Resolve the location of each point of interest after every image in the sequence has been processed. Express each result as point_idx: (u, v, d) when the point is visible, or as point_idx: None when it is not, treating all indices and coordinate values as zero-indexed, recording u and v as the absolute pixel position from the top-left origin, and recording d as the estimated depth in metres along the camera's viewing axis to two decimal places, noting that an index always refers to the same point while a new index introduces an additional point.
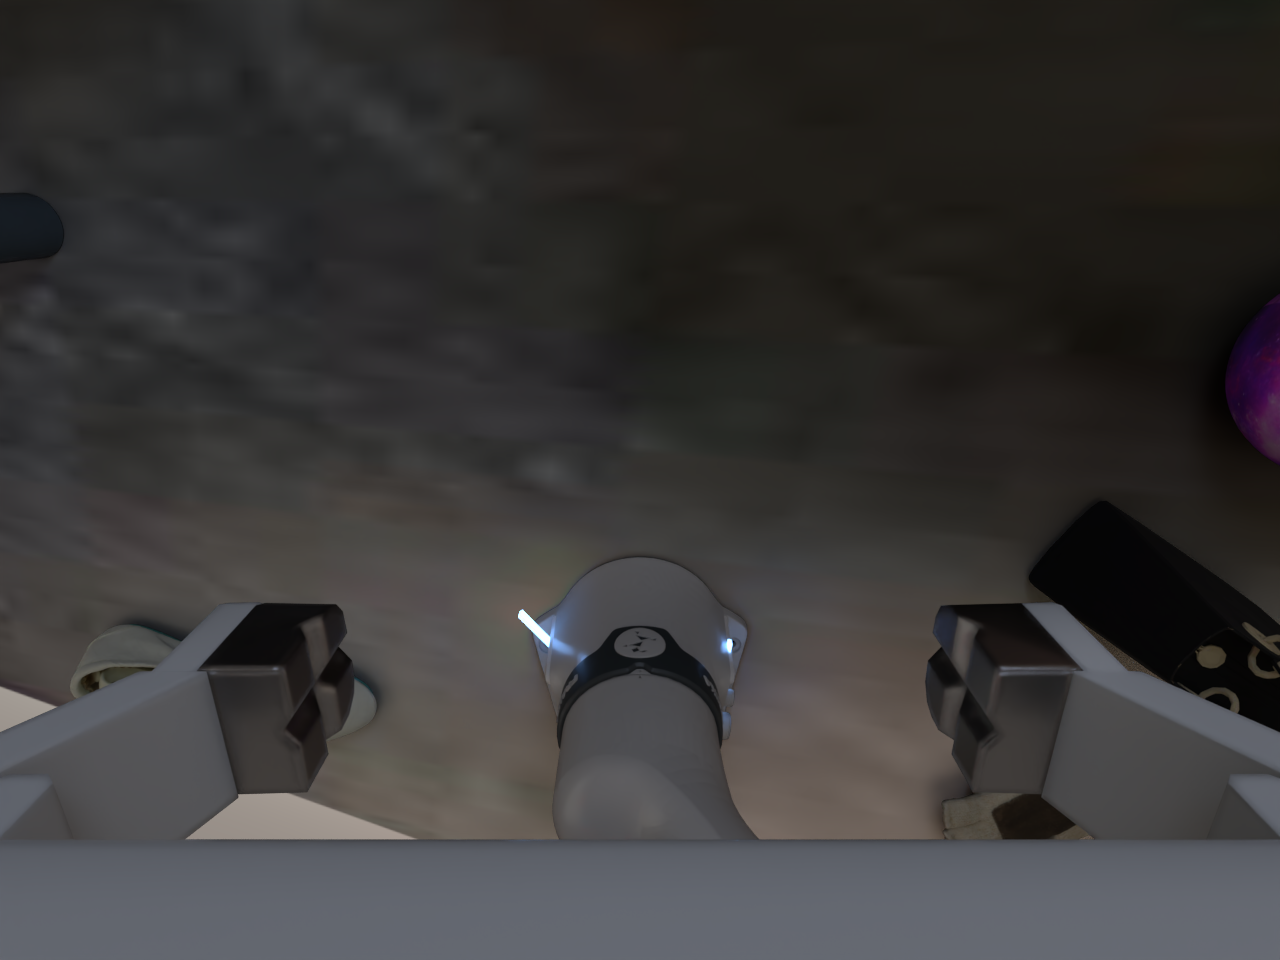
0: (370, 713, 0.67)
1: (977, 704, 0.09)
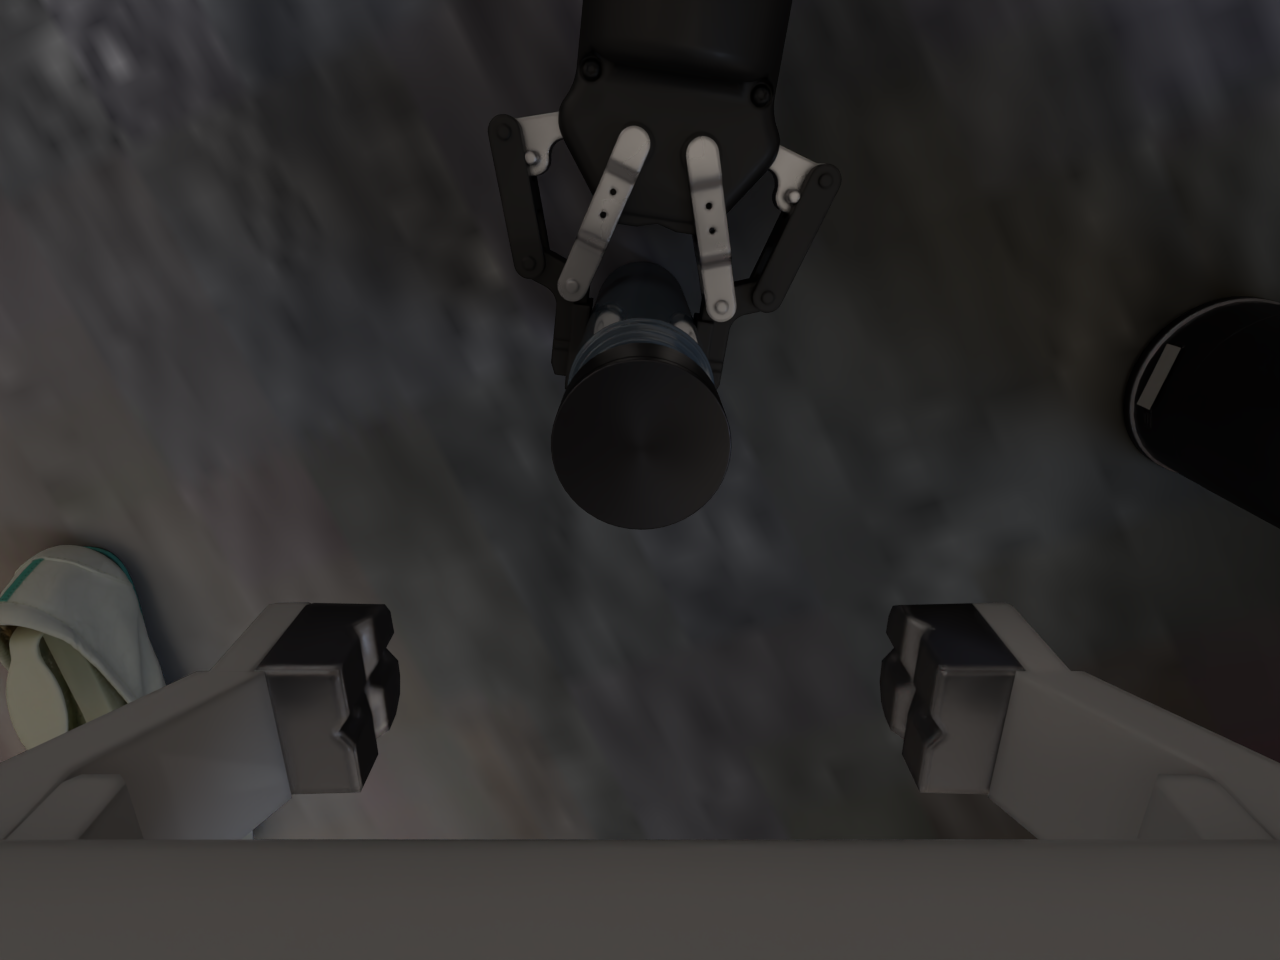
0: None
1: (925, 704, 0.09)
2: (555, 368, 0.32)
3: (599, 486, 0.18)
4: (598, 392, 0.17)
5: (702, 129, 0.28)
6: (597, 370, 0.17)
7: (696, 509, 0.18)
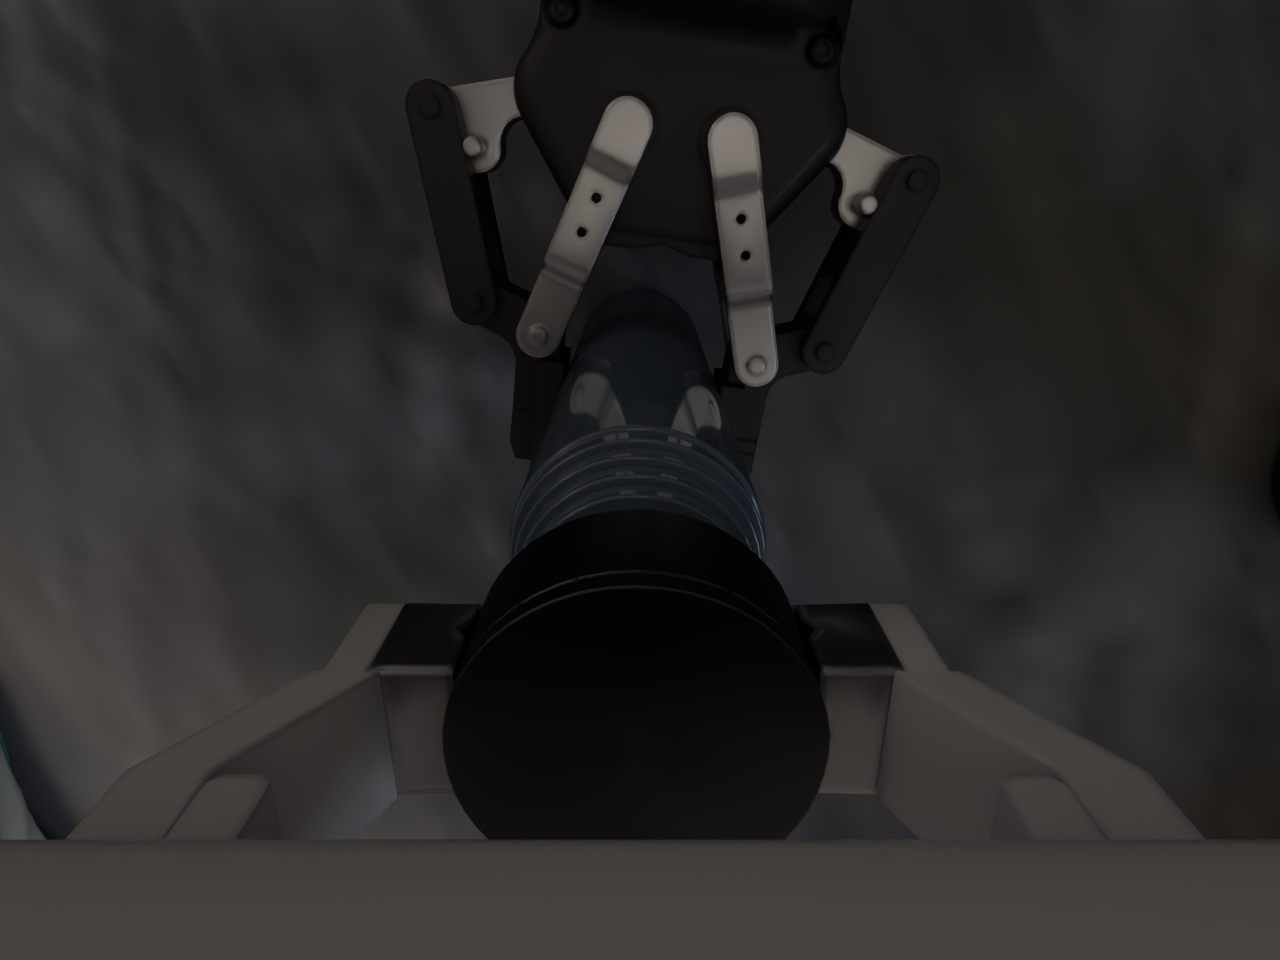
0: None
1: None
2: (516, 449, 0.22)
3: (548, 822, 0.09)
4: (540, 651, 0.08)
5: (732, 102, 0.18)
6: (537, 607, 0.08)
7: None
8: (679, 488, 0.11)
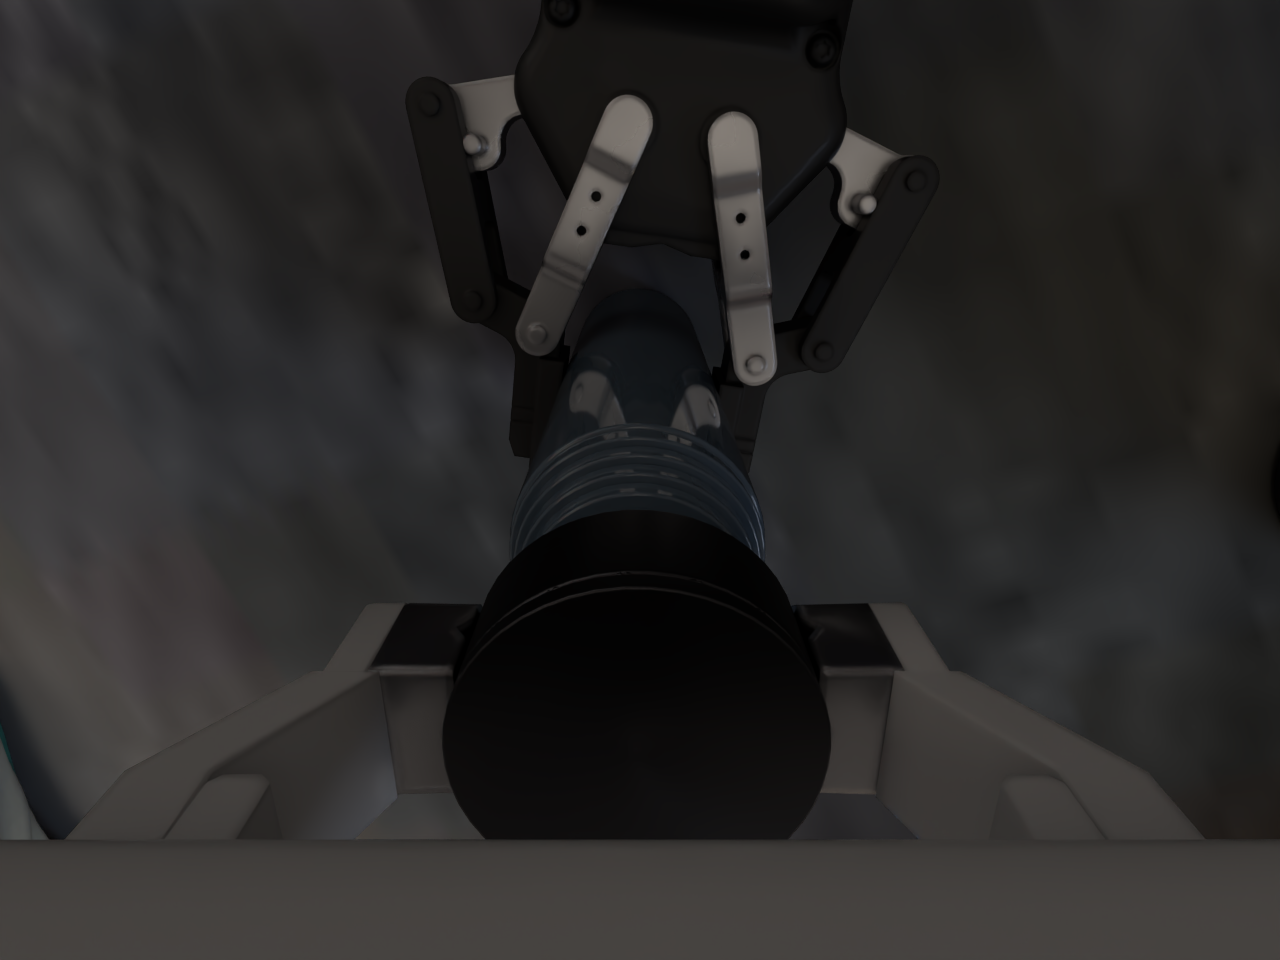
0: None
1: None
2: (515, 447, 0.22)
3: (726, 823, 0.09)
4: (523, 831, 0.09)
5: (732, 102, 0.18)
6: (480, 832, 0.09)
7: (782, 644, 0.08)
8: (679, 486, 0.11)
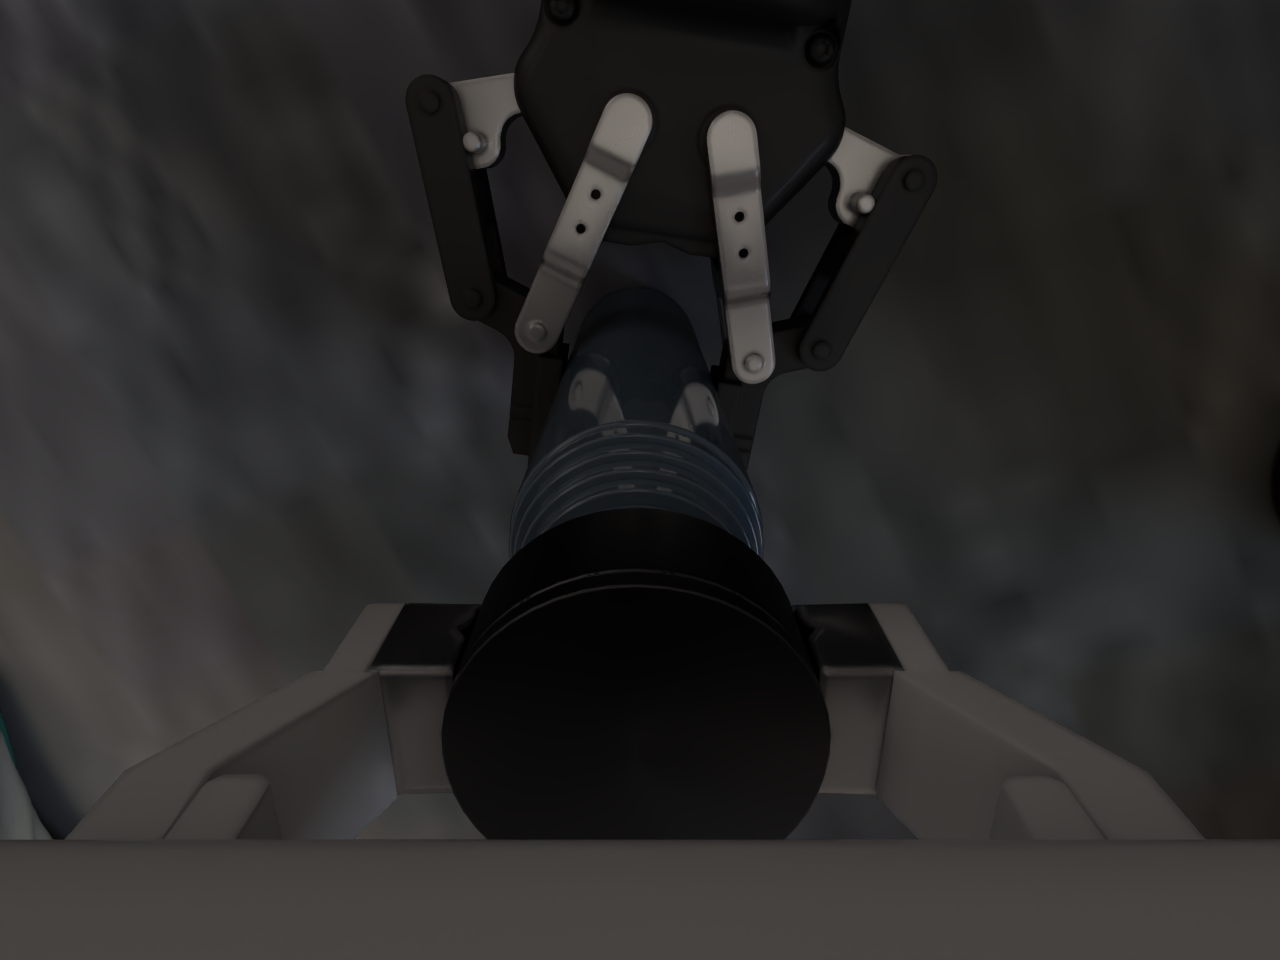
0: None
1: None
2: (514, 445, 0.22)
3: (720, 673, 0.08)
4: None
5: (731, 101, 0.18)
6: None
7: (486, 645, 0.08)
8: (678, 482, 0.11)
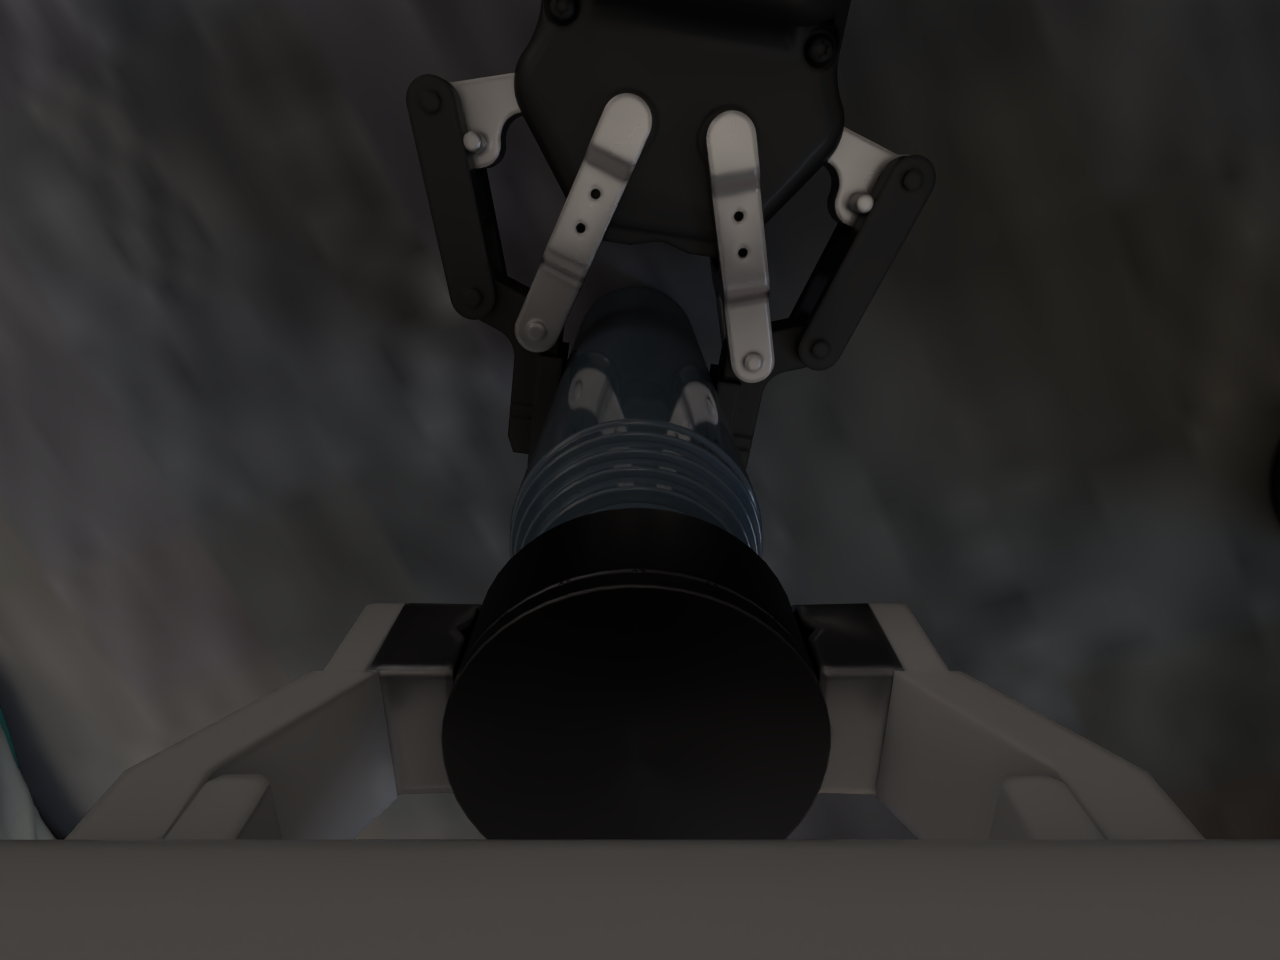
0: None
1: None
2: (514, 444, 0.22)
3: (529, 694, 0.08)
4: (749, 664, 0.08)
5: (730, 101, 0.18)
6: (797, 653, 0.08)
7: None
8: (678, 480, 0.11)
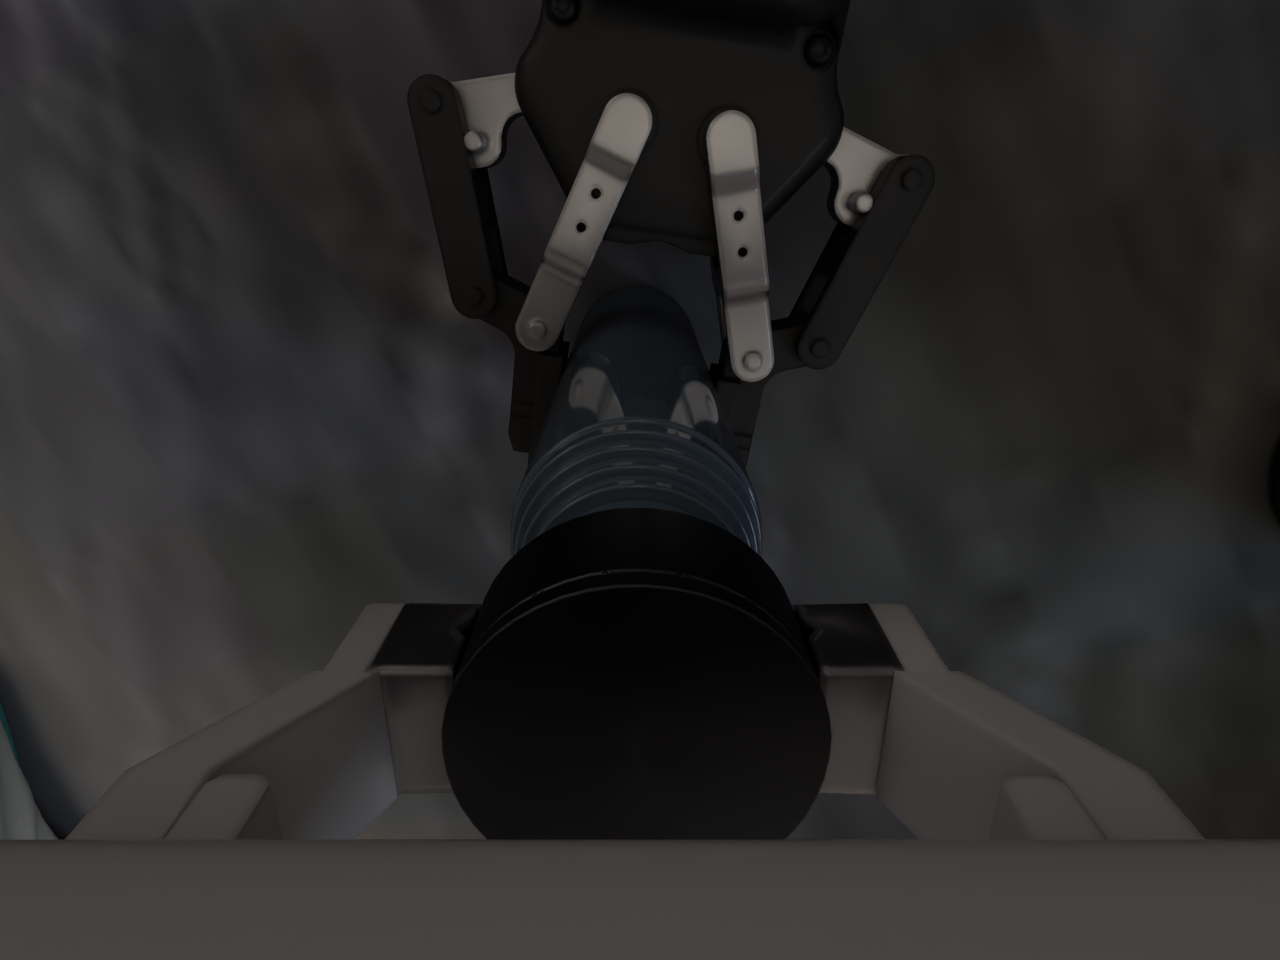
0: None
1: None
2: (514, 442, 0.22)
3: (570, 836, 0.09)
4: (514, 672, 0.08)
5: (730, 101, 0.19)
6: (499, 629, 0.08)
7: (781, 838, 0.09)
8: (678, 478, 0.11)
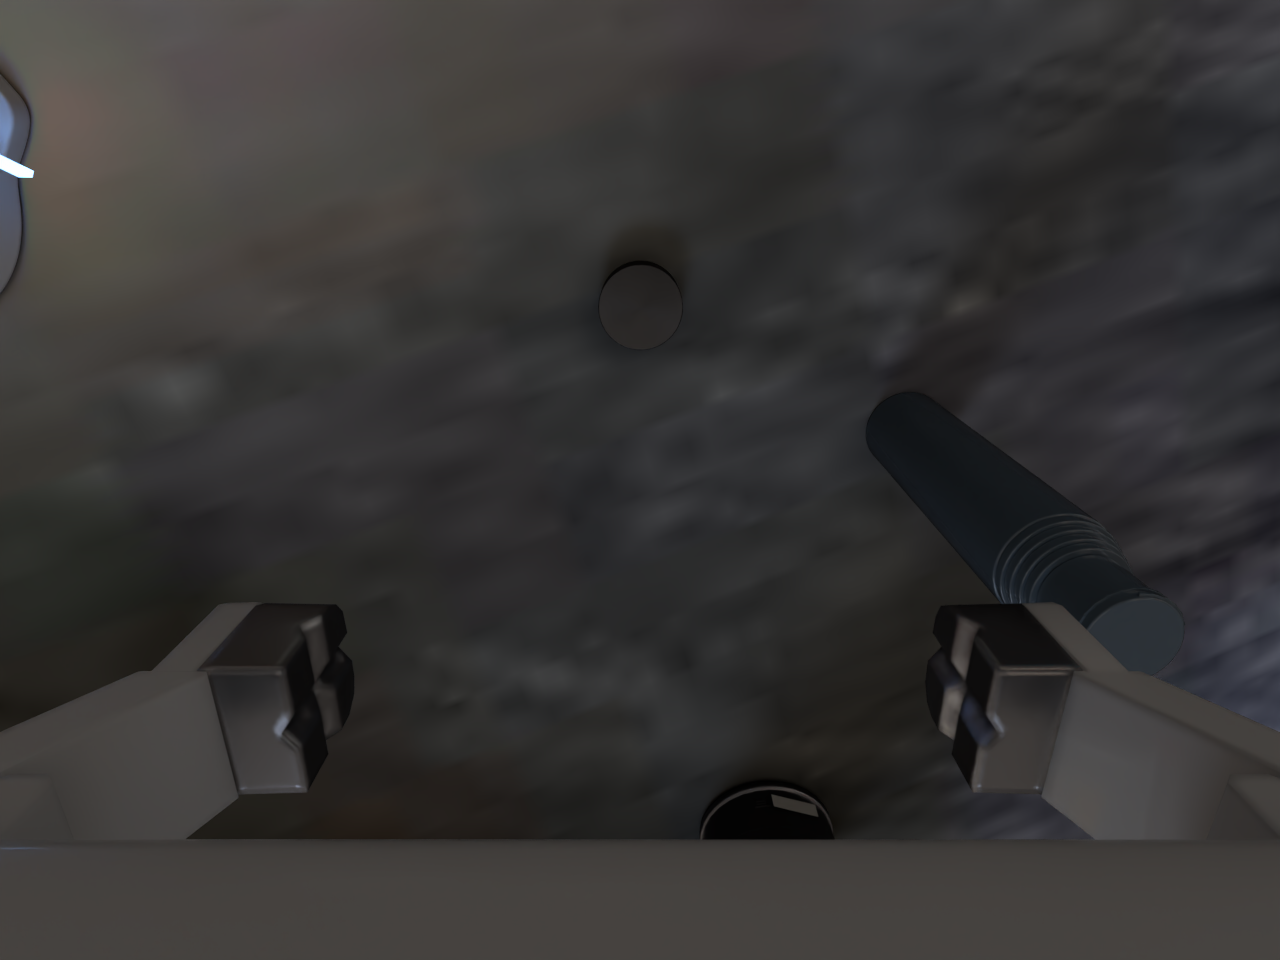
0: None
1: (977, 704, 0.09)
2: None
3: (625, 331, 0.39)
4: (615, 285, 0.38)
5: None
6: (612, 275, 0.38)
7: (673, 332, 0.39)
8: None
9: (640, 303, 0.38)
